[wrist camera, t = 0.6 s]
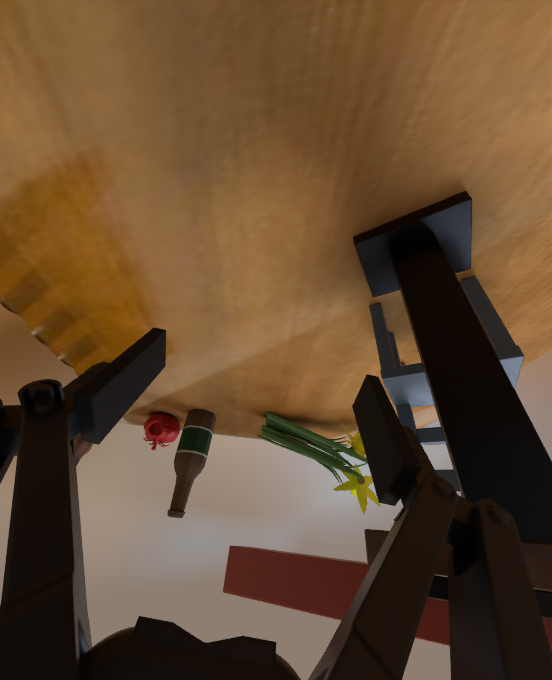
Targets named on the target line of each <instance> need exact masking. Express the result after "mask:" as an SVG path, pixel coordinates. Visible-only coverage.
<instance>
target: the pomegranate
mask: <svg viewBox="0 0 552 680" xmlns="http://www.w3.org/2000/svg"><path fill="white" fill-rule="evenodd" d="M144 429H145V432H146V433H145V435H146V438H147V439H148V440H146V439H145V438H144V439H145V441H153V443H152V444H151V445H153V444H154V445H153V447H152V450H155V449H156V445H157V444H159V445H161V444H162V445H163V446H162V447H164V446H167V445H164V444H163V443H169V442H173V441H174V440H175V439H176V438H177V436H178V434H179V432H180V425H179V422H178V421H177V419H176V418H174V417H172V416H170V415H167V414H155V415H152V416H151V417H150V418H149V419H148V420H147V421H146V422H145V424H144ZM160 443H161V444H160Z"/></svg>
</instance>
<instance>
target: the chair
mask: <svg viewBox="0 0 552 680" xmlns="http://www.w3.org/2000/svg"><path fill="white" fill-rule="evenodd" d="M461 286H462V288H463V290H464V292H465V294H466V296H467V298H468V300H469V302H470V304H471V306H472V308H473V310H474V312H475V314H476V316H477V317H478V319H479V321H480V323H481V325H482V327H483V329H484V331H485V333H486V335H487V337H488V339H489V341H490V343H491V345H492V347H493V349H494V350H495V352H496V354H497V356H498V358H499V360H500V362H501V364H502V366H503V368H504V370H505V372H506V374H507V376H508V378H509V380H510V381H511V383H512V385H513V387H514V389H515V387H516V384H517V380H518V377H519V373H520V369H521V366H522V362H523V359H524V354H523V353H522V351H521V349H520V348H519V346H516V344H515V343H514V341H513V339H512V338H511V336H510V334H509V332H508V331H507V329H506V327H505V326H504V324H503V322H502V320H501V319H500V317H499V315H498V314H497V312H496V310H495V308H494V307H493V305H492V303H491V302H490V300H489V298H488V297H487V295H486V293H485V291H484V290H483V288H482V286H481V285H480V283H479V281H478V279H477V278H476V276H473V277H469V278H466V279H462V280H461ZM370 310H371V316H372V321H373V327H374V332H375V338H376V343H377V349H378V354H379V360H380V365H381V370H380V371H381V377H382V380H383V382H384V385H385V387H386V389H387V391H388V393H389V395H390V397H391V400H392V402H393V404H394V406H395V408H396V409H397V413H398V418H399V421H400V423H401V425H403V426H407V427H409V428H410V429H411V430H412V431H413V432H414V433H415V434H416V435H417V437H418V439H419V441H420V444H421V445H433V444H446V442H445V438H444V435H443V432H442V428H441V427H433V428H421V429H416V425H415V421H414V417H413V413H412V409H411V407H419V406H428V405H434V401H433V398H432V395H431V391H430V388H429V385H428V381H427V378H426V375H425V371H424V368H423V365H422V363H417V364H411V365H406V366H401V363H400V358H399V354H398V350H397V346H396V342H395V338H394V335H393V333H392V334H388V331H387V326H386V322H385V317H384V313H383V309H382V306H381V303H378V304H375V305H371V306H370ZM435 471H436V473H437V475H438V476H440V477H442V478H443V479H445V480H446V481H447V482H449V483H450V484H451V485H452V486H453V488H454V489H455V490H456V492H457V493H461V492H460V489H459V485H458V482H457V479H456V475H455V472H454V470H435Z"/></svg>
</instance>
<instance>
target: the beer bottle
mask: <svg viewBox="0 0 552 680" xmlns="http://www.w3.org/2000/svg"><path fill="white" fill-rule="evenodd" d="M215 419H216V418H215V416H214V414H213V413H211V412H208V411H206V410H198V409H194V410H192V411H190V412H189V413H188V416H187V419H186V422H185V425H184V428H183V432H182V435H181V438H180V442H179V445H178V449H177V451H176V455H175V460H174V468H175V472H176V475H177V477H176V485H175V489H174V493H173V498H172V502H171V507H170V510H168V516H169V517H175V518H182V517H183V516H184V514H185V512H184V509H185V506H186V503H187V500H188V496H189V493H190V490H191V487H192V484H193V481H194V479H195V478H196V477H197V476H198V475H199V474H200V473H201V471H202V469H203V468H204V466H205V462H206V459H207V455H208V451H209V446H210V442H211V438H212V434H213V429H214V425H215Z"/></svg>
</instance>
